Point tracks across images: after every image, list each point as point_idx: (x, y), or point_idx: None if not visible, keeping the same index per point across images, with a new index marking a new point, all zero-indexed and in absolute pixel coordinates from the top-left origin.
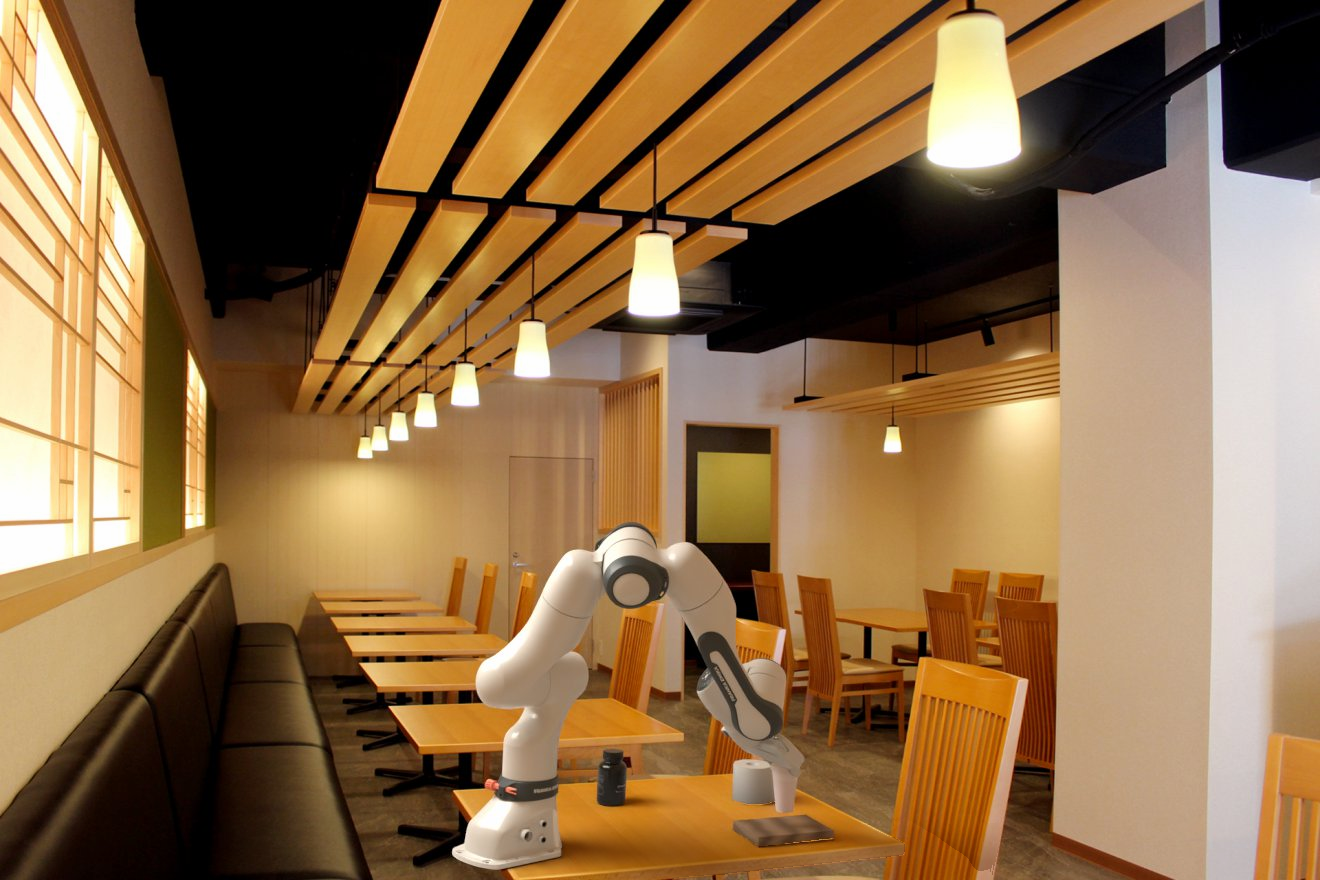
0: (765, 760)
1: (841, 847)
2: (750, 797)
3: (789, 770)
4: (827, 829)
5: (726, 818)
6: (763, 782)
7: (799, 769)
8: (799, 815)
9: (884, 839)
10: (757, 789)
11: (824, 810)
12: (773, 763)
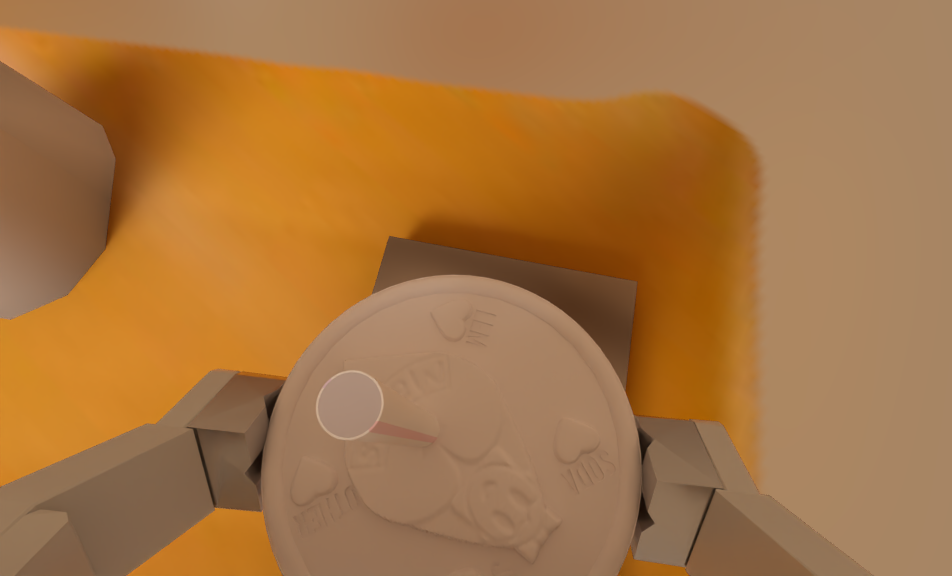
0: (137, 559)
1: (720, 332)
2: (38, 279)
3: (641, 550)
4: (615, 299)
5: None
6: (14, 191)
7: (732, 452)
8: (384, 270)
9: (691, 124)
10: (27, 236)
11: (309, 84)
12: (298, 542)
